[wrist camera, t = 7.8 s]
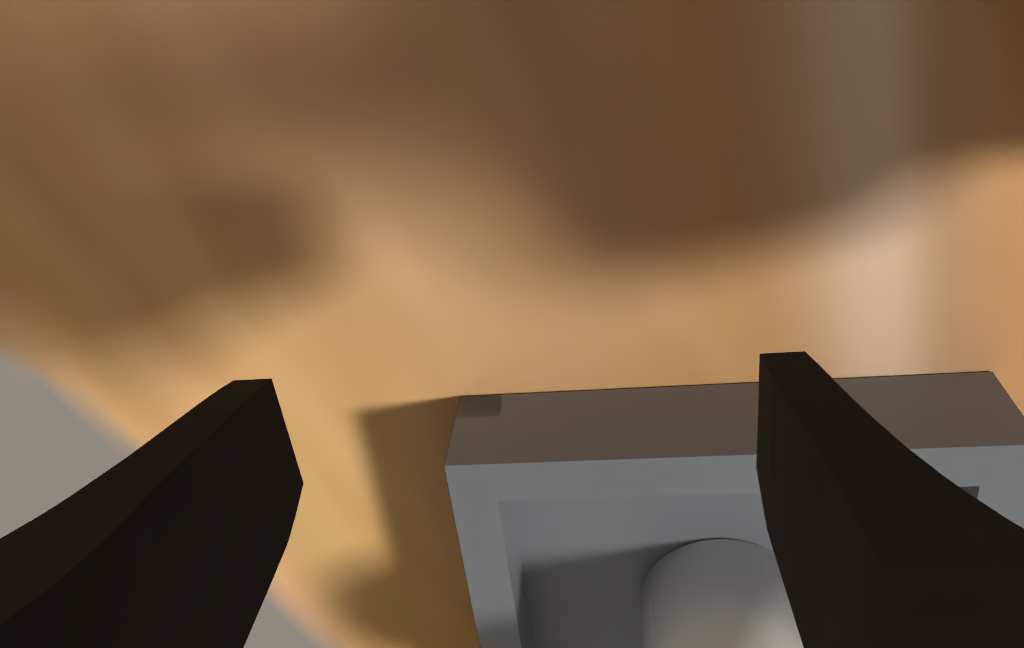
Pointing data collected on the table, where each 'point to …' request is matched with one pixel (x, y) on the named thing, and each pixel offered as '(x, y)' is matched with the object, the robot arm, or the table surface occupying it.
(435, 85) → the table surface
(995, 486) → the tray
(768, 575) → the cylinder
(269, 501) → the robot arm
